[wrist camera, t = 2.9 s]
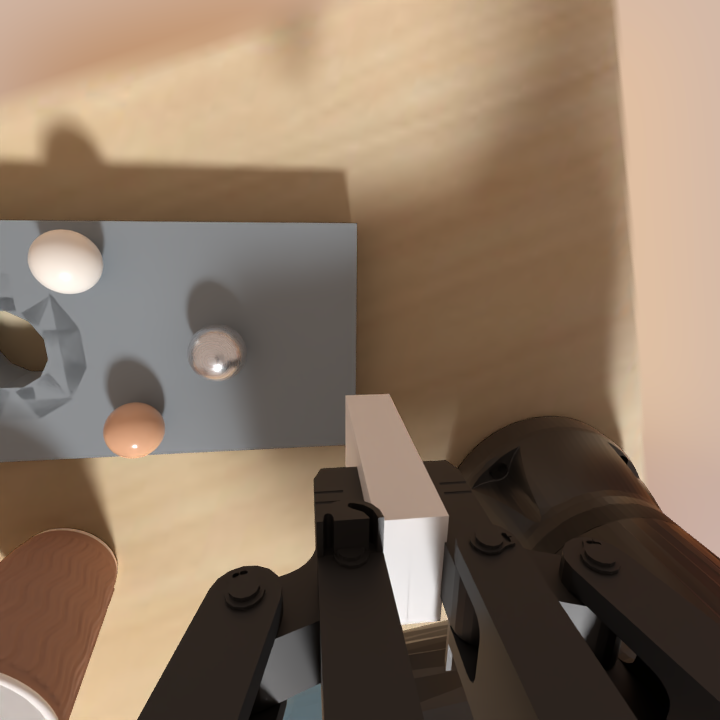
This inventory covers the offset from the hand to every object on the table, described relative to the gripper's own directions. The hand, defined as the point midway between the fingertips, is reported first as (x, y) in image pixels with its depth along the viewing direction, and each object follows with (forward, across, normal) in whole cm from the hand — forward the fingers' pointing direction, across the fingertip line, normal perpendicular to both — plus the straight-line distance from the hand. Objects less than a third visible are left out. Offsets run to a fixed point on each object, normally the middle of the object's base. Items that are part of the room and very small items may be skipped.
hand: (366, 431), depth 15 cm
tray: (+16, +12, 0) cm, 20 cm away
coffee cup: (+16, +20, +18) cm, 31 cm away
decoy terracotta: (+11, +12, +5) cm, 17 cm away
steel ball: (+11, +7, 0) cm, 13 cm away
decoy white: (+11, +14, -5) cm, 18 cm away
